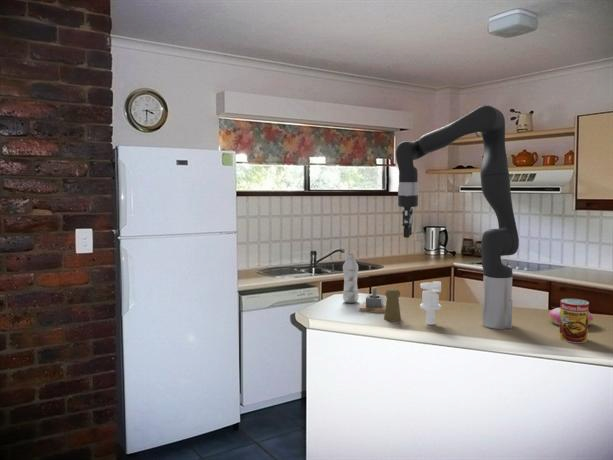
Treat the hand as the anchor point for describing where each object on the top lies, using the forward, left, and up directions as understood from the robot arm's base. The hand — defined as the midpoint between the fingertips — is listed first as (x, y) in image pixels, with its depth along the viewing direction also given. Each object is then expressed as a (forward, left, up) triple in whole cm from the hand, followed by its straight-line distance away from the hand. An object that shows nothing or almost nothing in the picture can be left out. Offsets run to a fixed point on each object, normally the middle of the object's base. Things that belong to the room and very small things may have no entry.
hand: (407, 236), depth 205 cm
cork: (+3, +18, -28) cm, 34 cm away
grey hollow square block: (+12, +5, -27) cm, 30 cm away
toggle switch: (+12, +5, -28) cm, 31 cm away
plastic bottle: (+23, -3, -28) cm, 37 cm away
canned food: (-54, +28, -28) cm, 67 cm away
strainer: (-10, +21, -28) cm, 37 cm away
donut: (-57, +9, -28) cm, 64 cm away
